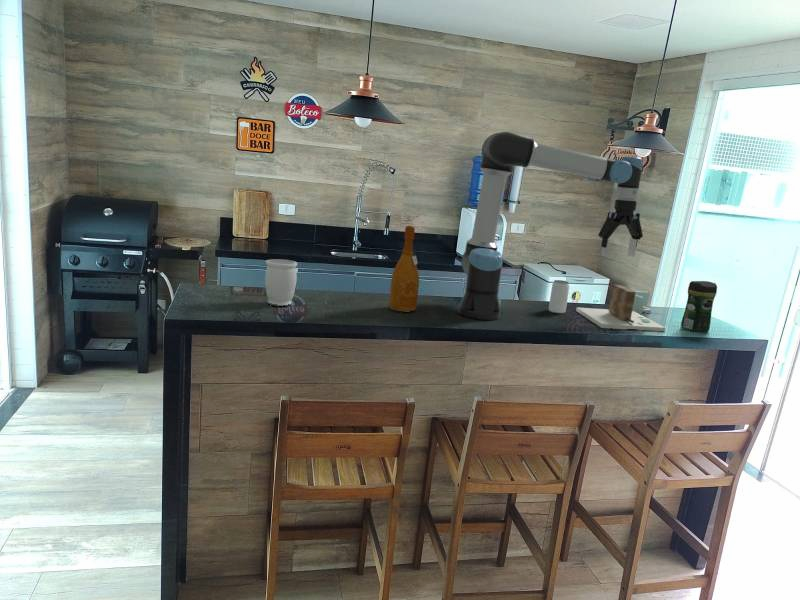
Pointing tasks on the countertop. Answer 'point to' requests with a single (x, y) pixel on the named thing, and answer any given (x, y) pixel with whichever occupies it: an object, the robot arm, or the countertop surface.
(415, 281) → the wine bottle
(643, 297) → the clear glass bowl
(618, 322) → the dial plate
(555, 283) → the can
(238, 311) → the countertop surface
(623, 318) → the brown wooden box
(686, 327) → the coffee jar
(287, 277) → the jar
